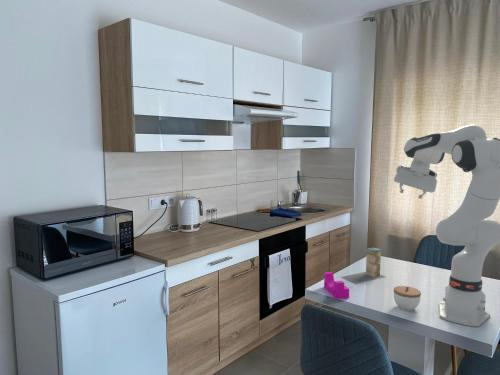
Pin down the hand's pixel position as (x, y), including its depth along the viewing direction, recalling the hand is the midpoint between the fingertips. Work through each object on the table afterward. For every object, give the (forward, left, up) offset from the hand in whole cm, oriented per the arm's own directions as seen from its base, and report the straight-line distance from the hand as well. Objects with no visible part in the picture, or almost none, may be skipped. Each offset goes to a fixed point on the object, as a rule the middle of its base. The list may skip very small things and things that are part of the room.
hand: (410, 195), depth 195 cm
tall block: (-8, +15, -43) cm, 46 cm away
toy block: (-41, +21, -44) cm, 64 cm away
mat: (-14, +18, -44) cm, 49 cm away
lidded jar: (-40, -10, -44) cm, 60 cm away
